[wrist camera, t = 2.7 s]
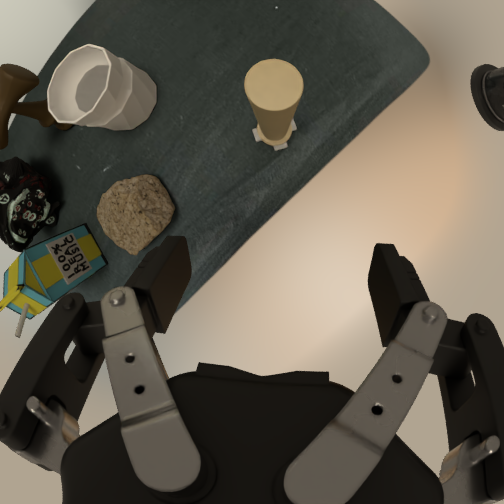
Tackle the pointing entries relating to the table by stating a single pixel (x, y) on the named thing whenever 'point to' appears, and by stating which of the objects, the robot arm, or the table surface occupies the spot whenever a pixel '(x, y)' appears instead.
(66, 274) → the carton
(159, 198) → the rock
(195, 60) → the table surface
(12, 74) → the kendama
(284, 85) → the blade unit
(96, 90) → the vase
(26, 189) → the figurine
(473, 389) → the robot arm
